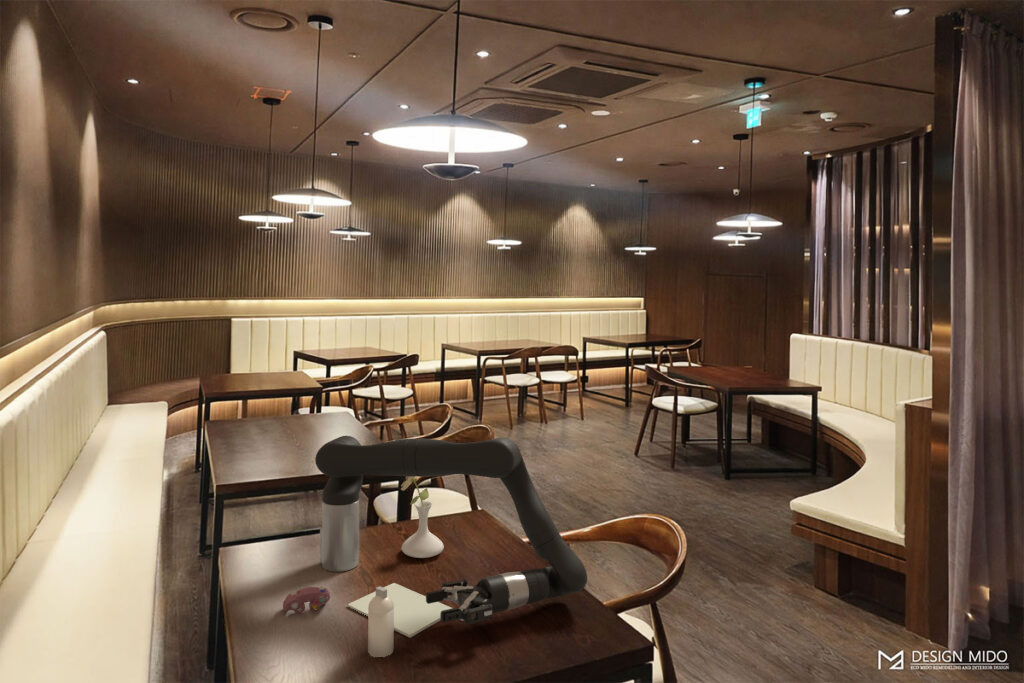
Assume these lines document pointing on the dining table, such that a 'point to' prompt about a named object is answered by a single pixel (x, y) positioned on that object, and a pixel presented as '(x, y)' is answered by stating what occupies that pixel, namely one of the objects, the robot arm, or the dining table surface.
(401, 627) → the cream flat board
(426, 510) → the flower in vase
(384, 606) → the bottle with rectangular cap
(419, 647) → the dining table surface
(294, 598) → the video game controller
